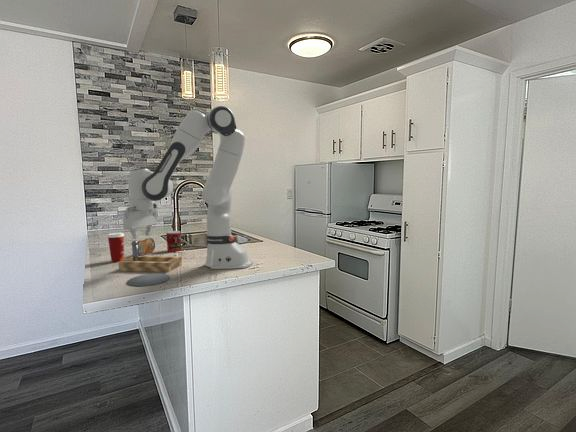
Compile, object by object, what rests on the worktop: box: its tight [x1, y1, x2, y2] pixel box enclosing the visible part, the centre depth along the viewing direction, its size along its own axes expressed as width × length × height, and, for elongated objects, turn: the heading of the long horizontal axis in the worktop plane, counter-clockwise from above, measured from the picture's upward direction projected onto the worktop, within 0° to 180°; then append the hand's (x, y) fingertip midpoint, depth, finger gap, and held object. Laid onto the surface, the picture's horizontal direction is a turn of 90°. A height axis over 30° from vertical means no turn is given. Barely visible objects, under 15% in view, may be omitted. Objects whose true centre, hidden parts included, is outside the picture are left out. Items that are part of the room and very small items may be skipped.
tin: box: [136, 237, 156, 256], centre depth 178 cm, size 15×3×8 cm, turn 168°
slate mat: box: [126, 272, 171, 287], centre depth 130 cm, size 16×16×1 cm
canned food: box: [166, 230, 182, 253], centre depth 186 cm, size 8×8×11 cm
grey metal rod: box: [130, 240, 139, 261], centre depth 150 cm, size 4×4×13 cm
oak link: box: [117, 255, 183, 273], centre depth 149 cm, size 24×12×4 cm, turn 82°
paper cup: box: [107, 232, 125, 263], centre depth 163 cm, size 8×8×14 cm
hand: (141, 237), depth 142 cm, fingers open, 8 cm apart
